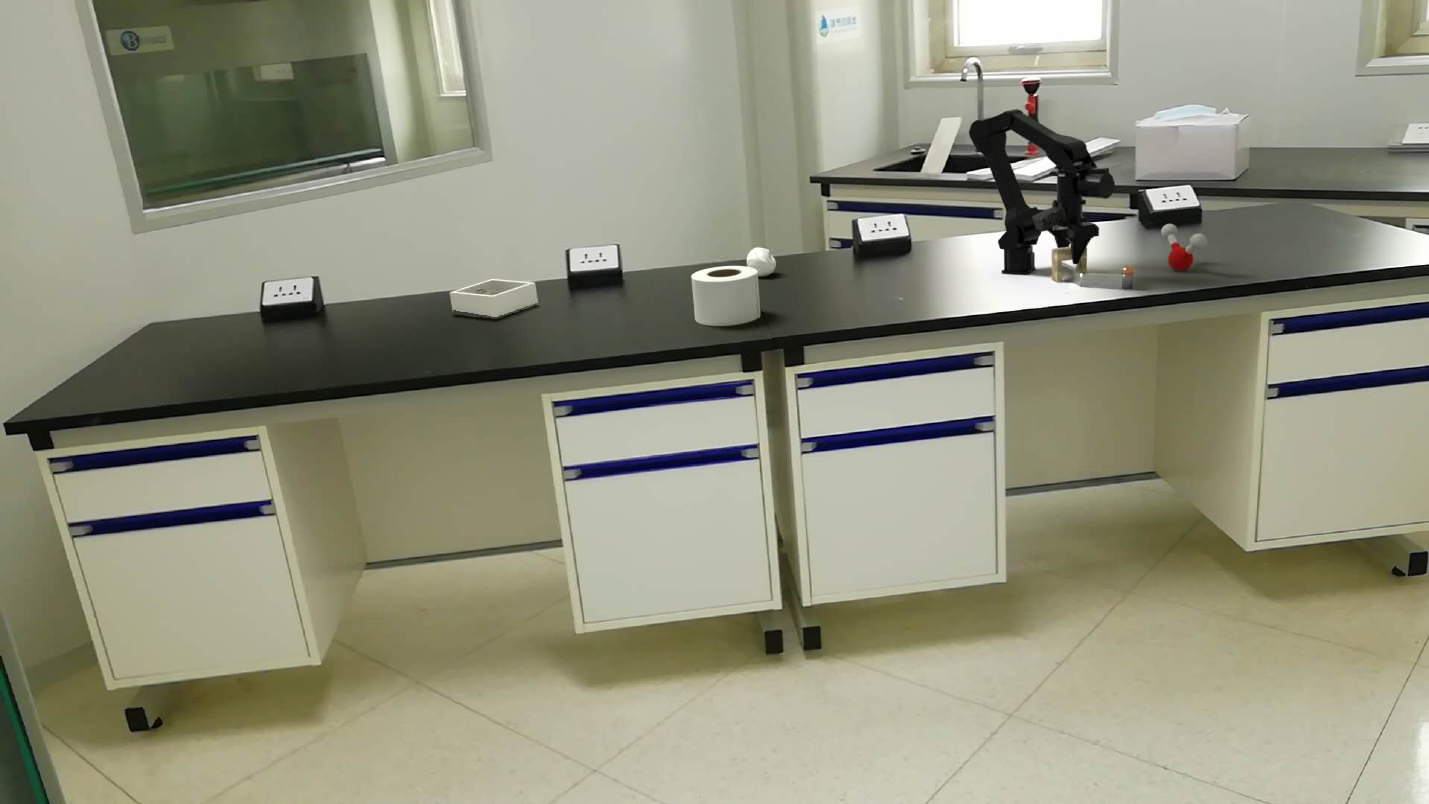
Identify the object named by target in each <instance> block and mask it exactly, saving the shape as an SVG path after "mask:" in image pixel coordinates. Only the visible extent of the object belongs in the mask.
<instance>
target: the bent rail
mask: <svg viewBox="0 0 1429 804" xmlns="http://www.w3.org/2000/svg"><path fill="white" fill-rule="evenodd" d="M1120 273H1121V274H1115V273H1099V272H1097V273H1096V272H1087V273H1086V272H1084V271H1082V270H1079V269H1077V268H1076V267H1075V266H1072V265H1070V264H1068V263H1066V262H1065V261H1062V279H1064V280H1066V281H1068V282H1071V283H1073V284H1074V285H1077V286H1078V287H1083V288H1094V289H1097V288H1098V289H1109V288H1111V289H1112V290H1122V289H1131V290H1133V287H1134V273H1135V272H1134V268H1133V266H1130V265H1124V266H1123V267H1122V268H1121V272H1120ZM1095 287H1097V288H1095Z"/></svg>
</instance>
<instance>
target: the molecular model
mask: <svg viewBox="0 0 1429 804" xmlns="http://www.w3.org/2000/svg"><path fill="white" fill-rule="evenodd" d="M1178 230H1179V229H1178V228H1177V226H1176V225H1175V224H1173V223H1167V224H1165V225H1164V226H1162V228H1161V233H1160V234H1161V236H1162V237H1163V239H1166V240H1168V243H1169V245H1170V247H1171V251H1170V252H1169V253H1168V256H1167V262H1168V265H1169V267H1170V268H1171V269H1173V270H1174V271H1178V272H1183V271H1186V270H1187V269H1189V268H1190V267H1191V266H1192V264H1193V262H1194V254H1193V253H1194V252H1195V251H1197V250H1198V251H1199V250H1201V249H1203V248H1205V247H1206V246H1207V244H1208V239H1207V237H1206V236H1205V234H1203V233H1201V232H1200V233H1195V234H1193V235H1192V236H1191V237H1190V238H1189V239H1190V240H1189V244H1188V246H1187V247H1185V246H1180V243H1179V240H1178V238H1177V235H1178Z"/></svg>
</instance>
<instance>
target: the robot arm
mask: <svg viewBox="0 0 1429 804" xmlns="http://www.w3.org/2000/svg"><path fill="white" fill-rule="evenodd" d="M1009 131H1012V132H1014V133H1015V134H1017V135H1019V136H1020V137H1022V138H1023V139H1024V140H1026V141H1029V142H1030V143H1031V144H1033V145H1034V146H1036V147H1038V148H1040V149H1042V151H1043V152H1045V155H1046V157H1047V159H1048V160H1049V161H1050V162H1052V163H1053V164H1054V166H1055V167H1054V168H1053V169H1052V170H1051V171H1049V173H1048V176H1050V177H1056V199H1053V201H1052V202H1051V203H1052V206H1051V207H1050V208H1046V209H1043V210H1042V211H1041V212H1039V209H1038V207H1037V206H1034V207H1030V206H1029V205H1028V204H1027V203H1026V201H1025V199H1024V195H1023V193H1022V190H1021V187H1020V184H1019V182H1018V180H1017V176H1016V174H1015V172H1014V169H1013V167H1012V164H1011V162H1010V158H1009V156H1008V153H1007V151H1006V147H1007V146H1006V145H1007V139H1008V138H1007V137H1008V136H1007V132H1009ZM968 134H969V138H970V140H971V142H972V144H973V145H974V148H975V149H976V150H977V151H978V152H979V153H981V154H982V155H983V156H984V157H985V160H986V161H987V164H988V167H989V169H990V172H991V175H992V177H993V180H994V183H995V184H996V185H995V186H996V188H997V190H998V191H997V192H998V193H999V196H1000V198H1001V199H1000V200H1001V201H1002V204H1003V207H1004V210H1005V216H1004V217H1005V218H1004V226H1005V227H1004V228H1005V232H1004V233H1003V234H1002V235H1001V236H1000V238H999V239H998V240H997V243H998V247H999V249H1000V250H1003V267H1004V268H1003V269H1002V270H1001V273H1002V274H1012V275H1013V274H1015V275H1027V274H1029V273H1031V272H1033V271H1035V270H1036V266H1035V262H1036V261H1035V260H1036V259H1035V258H1036V256H1035V254H1036V253H1035V252H1034V251H1033V250H1034V249H1033V248H1034V247H1033V246H1035V245H1037V244H1038V242H1039V238H1040V236H1041V235H1042V233H1043V232H1048V233H1050V234H1051V235H1052V236H1053V238H1054V241H1055V245H1056V247H1057V248H1063V247H1071V254H1072V260H1071V261H1072V264H1073V265H1076V264H1078V262H1079V260H1080V258H1081V256H1082V254H1083V252H1084V250H1085V249H1086V247H1087V246H1088V245H1089V243H1090V242H1091V240H1092V239H1093V238H1094V237H1099V236H1100V226H1098V225H1097V224H1096V223H1094V222H1090V221H1086V219H1087V218H1086V217H1085V216H1083V206H1084V205H1085V206H1086V205H1087V201H1086V199H1084V198H1090V199H1091V198H1092V199H1105V200H1106V199H1109V198H1110V197H1111V196H1112V195H1113V193H1114V190H1115V186H1116V181H1115V180H1114V177H1113V176H1112V174H1111V173H1110V167H1102V168H1101V167H1098V165H1097V164H1096V162H1095V161H1094V158H1093V157H1092V156H1091V154H1090V152H1089V151H1088V148H1087V144H1086V142H1084V141H1083V140H1082V139H1079V138H1076V137H1074V136H1070V135H1064V134H1060V133H1057V132H1055V131H1054V130H1052V129H1050V127H1047V126H1045V125H1044V124H1042V123H1040V122H1038V121H1037V120H1035V119H1033V118H1032V117H1030V116H1028V115H1027V114H1025V113H1024V111H1022V110H1020V109H1018V108H1016V109H1011V110H1010V109H1009V110H1005V111H1003V112H1002V113H1000V114H998V115H996V116H992V117H985V118H981V119H977V120H974V121H973V122H972V123H971V124H970V128H969V129H968ZM1087 248H1088V247H1087Z"/></svg>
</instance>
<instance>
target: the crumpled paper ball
mask: <svg viewBox="0 0 1429 804" xmlns="http://www.w3.org/2000/svg"><path fill="white" fill-rule="evenodd" d="M776 266H777V261H776V259H775V258H774V256H773V255H772V254H771V253H770V250H769V249H767V248H764V247H754V248H753V249H751V250H750V251H749V253H747V257H746V267H751V268H754V269H756V270H757V272H758V277H767V276H769V275H770V274H771V275H772V273H773V272H774V271H775V269H776Z"/></svg>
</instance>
